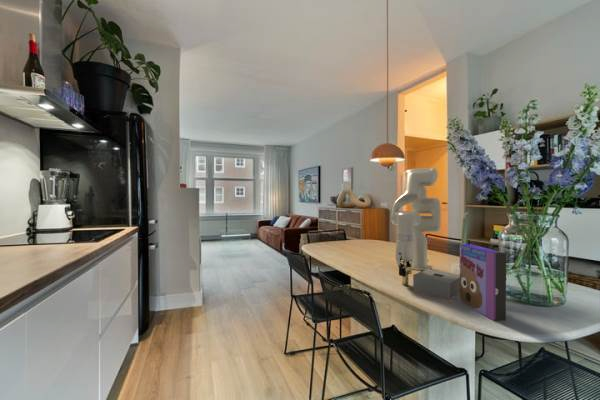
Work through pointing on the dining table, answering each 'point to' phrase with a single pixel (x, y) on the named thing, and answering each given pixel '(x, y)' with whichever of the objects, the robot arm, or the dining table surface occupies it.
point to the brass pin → (405, 279)
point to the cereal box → (483, 281)
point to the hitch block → (437, 283)
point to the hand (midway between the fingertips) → (405, 274)
